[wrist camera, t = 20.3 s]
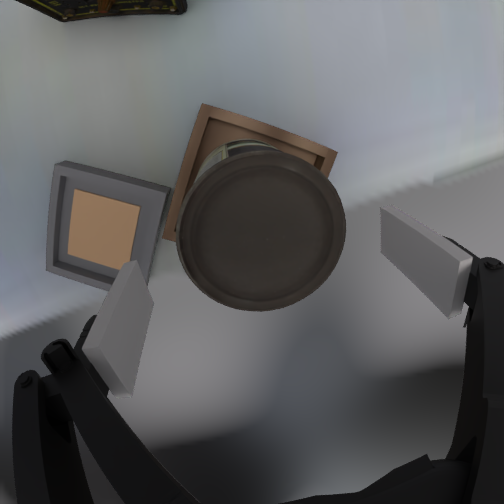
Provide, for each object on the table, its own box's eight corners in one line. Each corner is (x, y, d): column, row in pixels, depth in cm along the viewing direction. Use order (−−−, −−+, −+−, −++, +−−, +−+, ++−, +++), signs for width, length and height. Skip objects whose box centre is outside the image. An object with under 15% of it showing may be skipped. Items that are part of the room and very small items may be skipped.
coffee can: (273, 122, 28) (316, 124, 15) (307, 212, 32) (361, 275, 20) (177, 163, 29) (143, 198, 16) (219, 249, 33) (221, 333, 20)
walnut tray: (167, 226, 32) (162, 238, 29) (204, 105, 28) (202, 103, 24) (281, 258, 35) (287, 272, 32) (326, 148, 31) (337, 152, 27)
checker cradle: (54, 261, 32) (46, 270, 30) (65, 160, 28) (54, 164, 26) (146, 290, 35) (142, 301, 33) (170, 187, 31) (166, 193, 28)
